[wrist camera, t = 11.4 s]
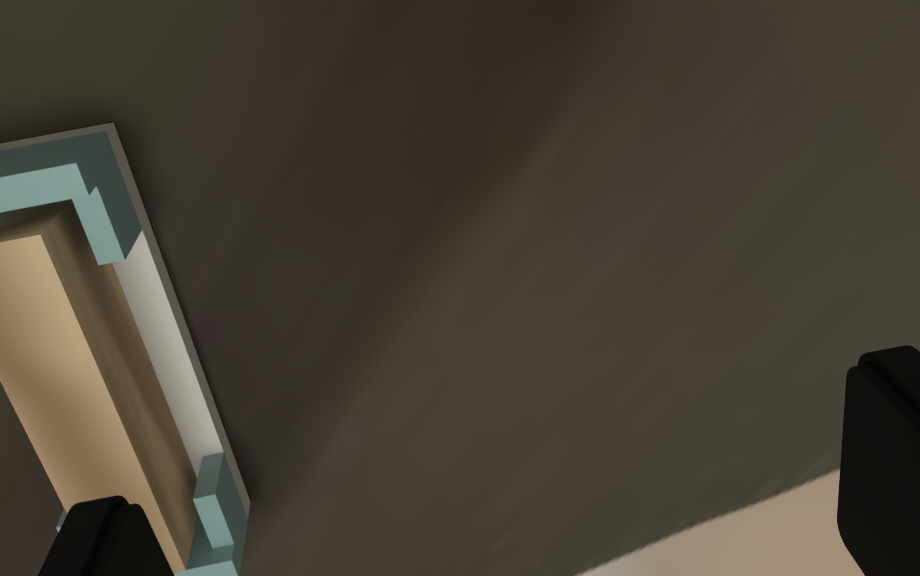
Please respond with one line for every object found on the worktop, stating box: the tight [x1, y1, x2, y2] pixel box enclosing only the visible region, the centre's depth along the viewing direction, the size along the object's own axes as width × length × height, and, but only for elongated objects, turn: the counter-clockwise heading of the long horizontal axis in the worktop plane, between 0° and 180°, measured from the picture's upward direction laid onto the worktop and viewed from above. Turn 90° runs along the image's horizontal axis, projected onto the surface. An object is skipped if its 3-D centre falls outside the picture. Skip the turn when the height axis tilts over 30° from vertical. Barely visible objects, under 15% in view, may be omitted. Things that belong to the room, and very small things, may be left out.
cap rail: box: [0, 122, 250, 576], centre depth 35 cm, size 7×20×5 cm, turn 9°
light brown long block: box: [0, 199, 198, 573], centre depth 34 cm, size 4×16×5 cm, turn 9°
